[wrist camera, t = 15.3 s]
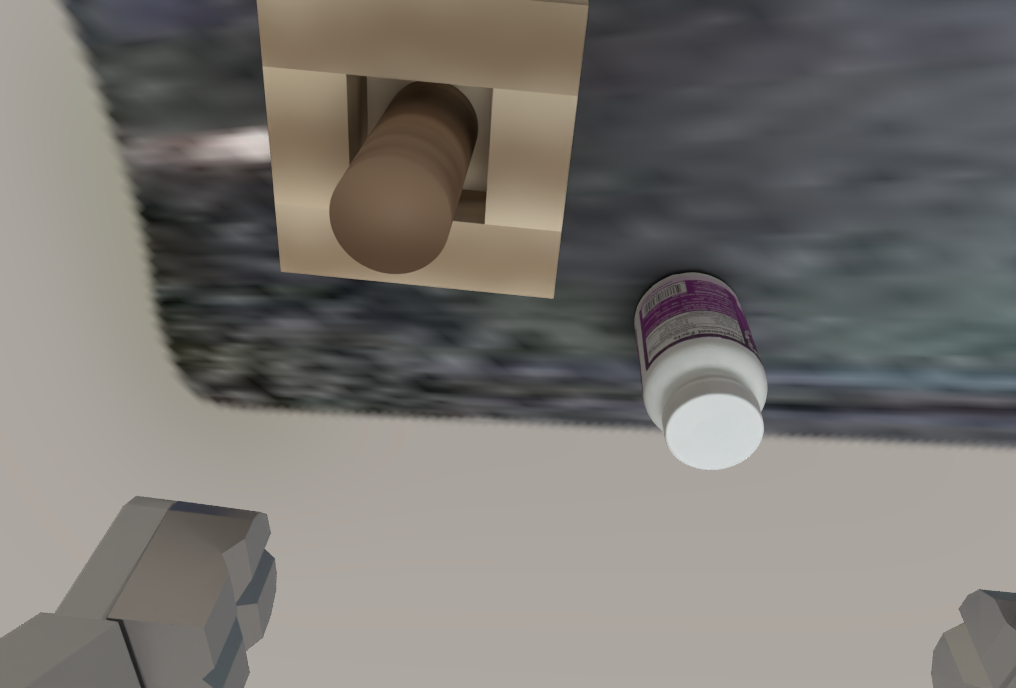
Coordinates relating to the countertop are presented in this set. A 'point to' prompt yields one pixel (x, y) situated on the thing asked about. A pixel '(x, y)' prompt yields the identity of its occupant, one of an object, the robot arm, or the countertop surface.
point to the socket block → (440, 59)
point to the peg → (406, 180)
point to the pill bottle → (700, 370)
